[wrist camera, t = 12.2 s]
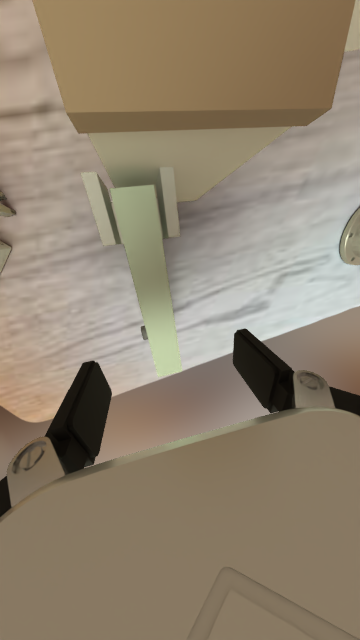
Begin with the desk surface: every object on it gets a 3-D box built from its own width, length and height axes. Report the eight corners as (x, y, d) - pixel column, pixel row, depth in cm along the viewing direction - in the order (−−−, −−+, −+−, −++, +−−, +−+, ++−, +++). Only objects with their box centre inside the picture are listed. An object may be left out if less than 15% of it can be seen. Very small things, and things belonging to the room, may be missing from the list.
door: (147, 214, 23) (153, 184, 11) (166, 320, 32) (182, 371, 19) (118, 218, 23) (90, 190, 10) (146, 325, 31) (148, 379, 19)
